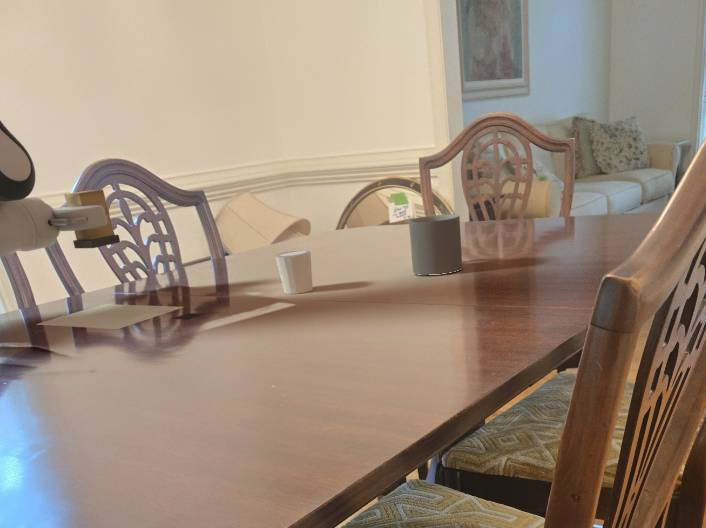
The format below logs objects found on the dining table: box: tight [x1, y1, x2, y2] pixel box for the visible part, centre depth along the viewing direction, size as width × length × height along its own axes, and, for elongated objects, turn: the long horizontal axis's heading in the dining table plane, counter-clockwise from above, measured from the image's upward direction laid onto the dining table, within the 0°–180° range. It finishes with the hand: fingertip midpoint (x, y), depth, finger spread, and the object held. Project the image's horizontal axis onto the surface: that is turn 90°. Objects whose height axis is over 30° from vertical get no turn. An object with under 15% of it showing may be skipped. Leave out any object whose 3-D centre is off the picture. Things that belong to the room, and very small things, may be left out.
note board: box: [35, 303, 184, 330], centre depth 142 cm, size 22×16×1 cm
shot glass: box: [274, 250, 314, 295], centre depth 149 cm, size 7×7×7 cm
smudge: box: [171, 312, 204, 321], centre depth 134 cm, size 4×4×1 cm
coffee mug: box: [408, 213, 463, 275], centre depth 154 cm, size 13×10×10 cm
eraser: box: [63, 189, 121, 249], centre depth 154 cm, size 6×7×10 cm
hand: (92, 213), depth 154 cm, fingers closed on eraser, 4 cm apart
